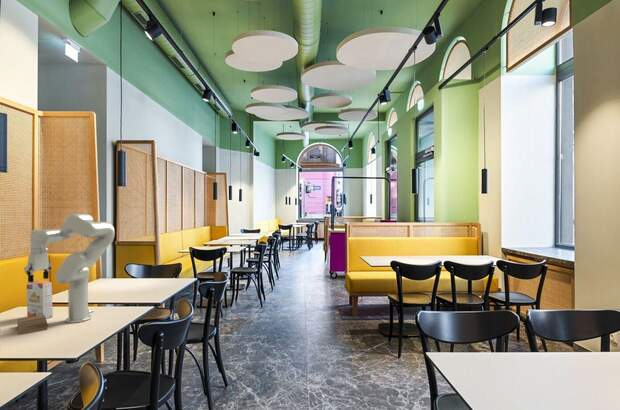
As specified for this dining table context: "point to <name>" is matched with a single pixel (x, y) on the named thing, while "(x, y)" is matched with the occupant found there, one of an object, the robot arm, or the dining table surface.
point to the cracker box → (39, 299)
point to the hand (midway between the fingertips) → (38, 280)
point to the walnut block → (32, 324)
